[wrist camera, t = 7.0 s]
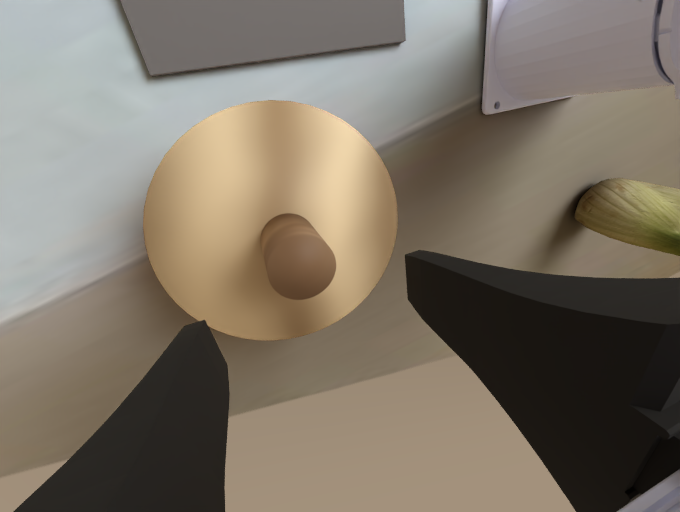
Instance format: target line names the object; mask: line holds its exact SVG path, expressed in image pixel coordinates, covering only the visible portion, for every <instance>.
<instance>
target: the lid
mask: <svg viewBox="0 0 680 512" xmlns="http://www.w3.org/2000/svg"><path fill="white" fill-rule="evenodd" d="M397 224H398V215H397V202H396V195H395V191H394V188H393V184H392V181H391V178H390V176H389V174H388V171H387V169H386V167H385V165H384V163H383V161H382V160H381V158H380V156H379V155H378V153H377V152H376V151H375V149H374V148H373V147H372V146H371V144H370V143H369V142H368V141H367V140H366V139H365V138H364V137H363V136H362V135H361V134H360V133H359V132H358V131H357V130H356V129H354V128H353V127H352V126H350V125H349V124H348V123H346V122H345V121H343V120H342V119H340V118H338V117H336V116H334V115H332V114H331V113H329V112H327V111H324V110H321V109H319V108H316V107H313V106H310V105H306V104H301V103H296V102H291V101H275V100H268V101H257V102H249V103H245V104H241V105H237V106H233V107H230V108H227V109H225V110H223V111H220V112H218V113H215V114H213V115H211V116H209V117H208V118H206V119H204V120H203V121H201V122H200V123H198V124H196V125H195V126H193V127H192V128H191V129H190V130H189V131H187V132H186V133H185V134H184V135H183V136H182V137H180V138H179V139H178V140H177V142H176V143H175V144H174V145H173V146H172V147H171V149H170V150H169V151H168V152H167V153H166V155H165V156H164V158H163V160H162V161H161V163H160V165H159V166H158V168H157V170H156V171H155V173H154V176H153V178H152V181H151V184H150V186H149V189H148V192H147V197H146V202H145V206H144V219H143V230H144V239H145V246H146V250H147V253H148V257H149V260H150V263H151V265H152V267H153V270H154V272H155V274H156V276H157V278H158V280H159V281H160V283H161V284H162V286H163V287H164V289H165V291H166V292H167V293H168V294H169V295H170V297H171V298H172V299H173V300H174V301H175V302H176V303H177V304H178V305H179V306H180V307H181V308H182V309H183V310H184V311H186V312H187V313H188V314H189V315H191V316H192V317H194V318H195V319H197V320H198V321H202V320H205V321H206V323H207V325H208V326H209V327H211V328H213V329H215V330H217V331H220V332H223V333H225V334H228V335H231V336H236V337H240V338H244V339H253V340H283V339H290V338H295V337H300V336H304V335H307V334H310V333H313V332H316V331H318V330H321V329H323V328H325V327H327V326H329V325H331V324H333V323H335V322H337V321H338V320H340V319H341V318H343V317H344V316H346V315H347V314H349V313H350V312H351V311H352V310H353V309H355V308H356V307H357V306H358V305H359V304H360V303H361V302H362V301H363V300H364V299H365V298H366V297H367V296H368V295H369V294H370V292H371V291H372V290H373V288H374V287H375V286H376V285H377V283H378V281H379V280H380V278H381V276H382V275H383V273H384V271H385V269H386V267H387V265H388V263H389V260H390V257H391V254H392V251H393V248H394V244H395V239H396V234H397Z"/></svg>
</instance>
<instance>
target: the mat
mask: <svg viewBox="0 0 680 512" xmlns="http://www.w3.org/2000/svg"><path fill="white" fill-rule="evenodd" d="M120 1H121V4H122V6H123V9H124V11H125V14H126V16H127V19H128V21H129V24H130V26H131V29H132V31H133V34H134V36H135V39H136V41H137V43H138V46H139V48H140V51H141V53H142V56H143V58H144V61H145V63H146V66H147V68H148V71H149V73H150V75H151V76H152V77H153V76H160V75H167V74H175V73H182V72H189V71H197V70H204V69H211V68H219V67H226V66H233V65H241V64H248V63H255V62H263V61H270V60H277V59H285V58H292V57H299V56H307V55H314V54H321V53H329V52H336V51H343V50H351V49H358V48H365V47H373V46H380V45H387V44H395V43H402V42H404V41H406V40H405V19H404V0H120Z"/></svg>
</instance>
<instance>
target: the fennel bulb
mask: <svg viewBox="0 0 680 512" xmlns="http://www.w3.org/2000/svg"><path fill="white" fill-rule="evenodd" d="M575 219H576V220H577V221H578V222H580V223H581V224H583V225H584V226H585V227H587V228H589V229H591V230H593V231H595V232H598V233H600V234H602V235H605V236H607V237H610V238H613V239H616V240H619V241H622V242H625V243H629V244H632V245H636V246H639V247H644V248H648V249H654V250H658V251H662V252H665V253H670V254H674V255H678V256H680V190H679V189H675V188H671V187H666V186H661V185H656V184H651V183H646V182H641V181H634V180H628V179H623V178H613V179H607V180H604V181H601V182H599V183H597V184H596V185H594V186H593V187H592V188H590V189H589V190H588V191H587V192H586V193H585V194H584V195H583V196H582V197H581V199H580V200H579V203H578V205H577V209H576V212H575Z"/></svg>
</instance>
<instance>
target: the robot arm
mask: <svg viewBox="0 0 680 512" xmlns="http://www.w3.org/2000/svg"><path fill="white" fill-rule="evenodd" d="M669 85H674V86H675V98H676V99H680V0H488V12H487V29H486V47H485V64H484V81H483V99H482V112H483V113H484V114H486V115H488V114H494V113H499V112H504V111H508V110H513V109H517V108H522V107H527V106H531V105H536V104H541V103H545V102H550V101H554V100H559V99H564V98H568V97H573V96H577V95H583V94H593V93H602V92H612V91H621V90H631V89H640V88H650V87H659V86H669ZM495 103H496V106H495V108H494V105H495ZM405 264H406V279H407V293H408V300H409V301H410V303H411V304H412V306H413V307H414V309H415V310H416V311H417V313H418V314H419V315H420V316H421V318H422V319H423V320H424V321H425V322H426V323H427V324H428V325H429V326H430V327H431V328H432V330H433V331H434V332H435V333H436V334H437V335H438V336H439V337H440V338H441V339H442V340H443V341H444V342H445V343H446V344H447V345H448V346H449V347H450V348H451V349H452V350H453V351H454V352H455V353H456V354H457V355H458V356H459V357H460V358H461V359H462V360H463V361H464V362H465V363H466V364H467V365H468V366H469V367H470V368H471V369H472V370H473V371H474V373H475V374H476V375H477V376H478V378H480V380H481V381H482V382H483V384H484V385H485V386H486V387H487V389H488V390H489V391H490V392H491V394H492V395H493V396H494V397H495V398H496V400H497V401H498V402H499V403H500V405H501V406H502V408H503V409H504V410H505V411H506V413H507V414H508V415H509V417H510V418H511V419H512V421H513V422H514V423H515V424H516V426H517V427H518V429H519V430H520V431H521V433H522V434H523V435H524V437H525V438H526V439H527V441H528V442H529V444H530V445H531V446H532V448H533V449H534V451H535V452H536V453H537V455H538V456H539V458H540V459H541V460H542V462H543V463H544V465H545V466H546V468H547V469H548V471H549V472H550V473H551V475H552V476H553V478H554V479H555V481H556V482H557V484H558V485H559V487H560V488H561V490H562V491H563V493H564V494H565V495H566V497H567V498H568V500H569V501H570V503H571V504H572V506H573V507H574V509H575V511H576V512H680V278H658V279H634V278H593V277H577V276H563V275H552V274H543V273H535V272H527V271H520V270H514V269H508V268H503V267H497V266H492V265H487V264H482V263H477V262H473V261H468V260H464V259H460V258H456V257H451V256H447V255H443V254H438V253H434V252H429V251H422V250H418V251H415V252H412V253H409V254H406V255H405ZM228 411H229V380H228V368H227V363H226V361H225V359H224V357H223V355H222V353H221V351H220V349H219V347H218V345H217V343H216V341H215V339H214V337H213V335H212V333H211V331H210V329H209V327H208V325H207V323H206V321H205V320H202V321H199V322H196V323H193V324H190V325H187V326H184V328H183V329H182V330H181V331H180V332H179V333H178V335H177V336H176V337H175V338H174V340H173V341H172V342H171V343H170V345H169V346H168V347H167V349H166V350H165V351H164V353H163V354H162V355H161V356H160V358H159V359H158V360H157V361H156V363H155V364H154V365H153V366H152V368H151V369H150V370H149V372H148V373H147V374H146V375H145V377H144V378H143V379H142V380H141V381H140V383H139V384H138V385H137V386H136V387H135V388H134V390H133V391H132V392H131V393H130V394H129V395H128V397H127V398H126V399H125V400H124V401H123V402H122V404H121V405H120V406H119V407H118V408H117V409H116V411H115V412H114V413H113V414H112V415H111V416H110V417H109V418H108V420H107V421H106V422H105V423H104V424H103V425H102V426H101V427H100V428H99V429H98V430H97V431H96V432H95V433H94V435H93V436H92V437H91V438H90V439H89V440H88V441H87V442H86V443H85V444H84V445H83V446H82V447H81V448H80V449H79V450H78V451H77V452H76V453H75V454H74V455H73V456H72V457H71V458H70V459H69V460H68V461H67V462H66V463H65V464H64V465H63V466H62V467H61V468H60V469H59V470H58V471H56V473H54V474H53V475H52V476H51V477H50V478H49V479H48V480H47V481H46V482H45V483H44V484H42V486H40V487H39V488H38V489H37V490H36V491H35V492H34V493H33V494H32V495H31V496H30V497H29V498H27V499H26V500H25V501H24V502H23V503H22V504H21V505H20V506H19V507H18V508H17V509H16V510H15V511H14V512H225V491H224V482H225V480H224V479H225V458H226V443H227V427H228Z"/></svg>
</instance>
